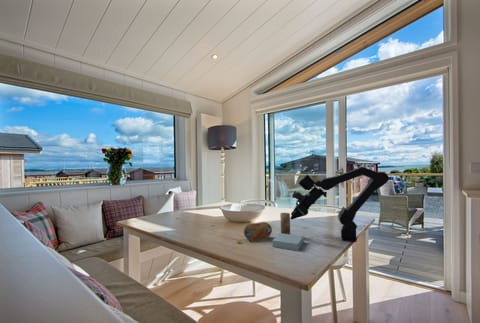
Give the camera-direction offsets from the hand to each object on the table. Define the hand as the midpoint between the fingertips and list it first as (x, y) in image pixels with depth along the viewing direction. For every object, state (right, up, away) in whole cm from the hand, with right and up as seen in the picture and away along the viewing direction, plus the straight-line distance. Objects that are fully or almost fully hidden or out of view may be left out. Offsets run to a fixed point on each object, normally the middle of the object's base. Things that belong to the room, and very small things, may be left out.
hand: (291, 216), depth 125 cm
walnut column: (-3, -10, +1) cm, 11 cm away
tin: (-18, -11, -2) cm, 21 cm away
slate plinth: (-4, -10, -12) cm, 16 cm away
